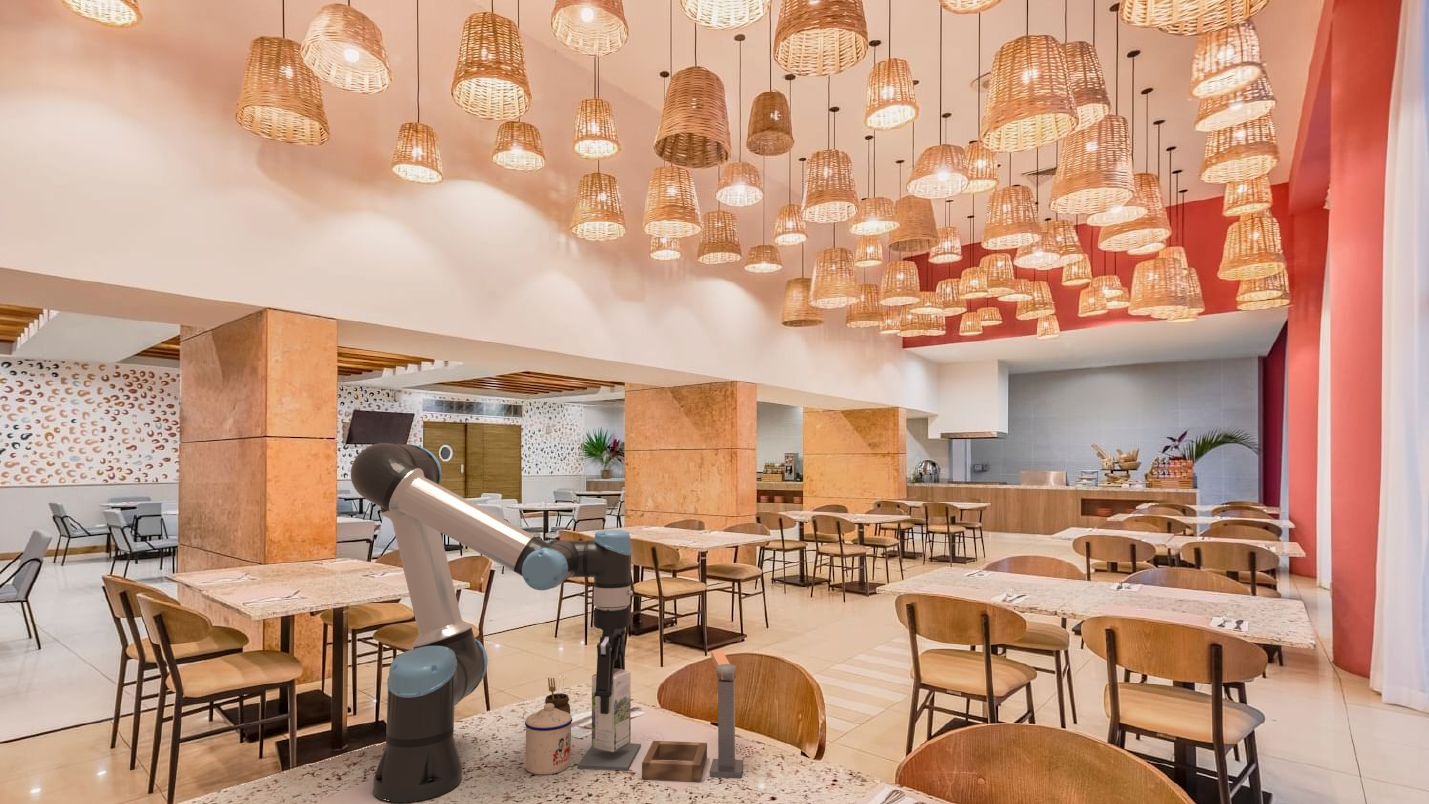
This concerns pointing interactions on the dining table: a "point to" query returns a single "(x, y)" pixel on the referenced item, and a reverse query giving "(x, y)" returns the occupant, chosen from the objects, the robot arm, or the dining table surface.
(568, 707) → the utensil holder
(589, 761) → the slate mat
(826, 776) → the dining table surface
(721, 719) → the clip post
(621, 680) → the syrup box
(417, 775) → the robot arm
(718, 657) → the bar
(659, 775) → the socket collar
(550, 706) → the teacup with lid
